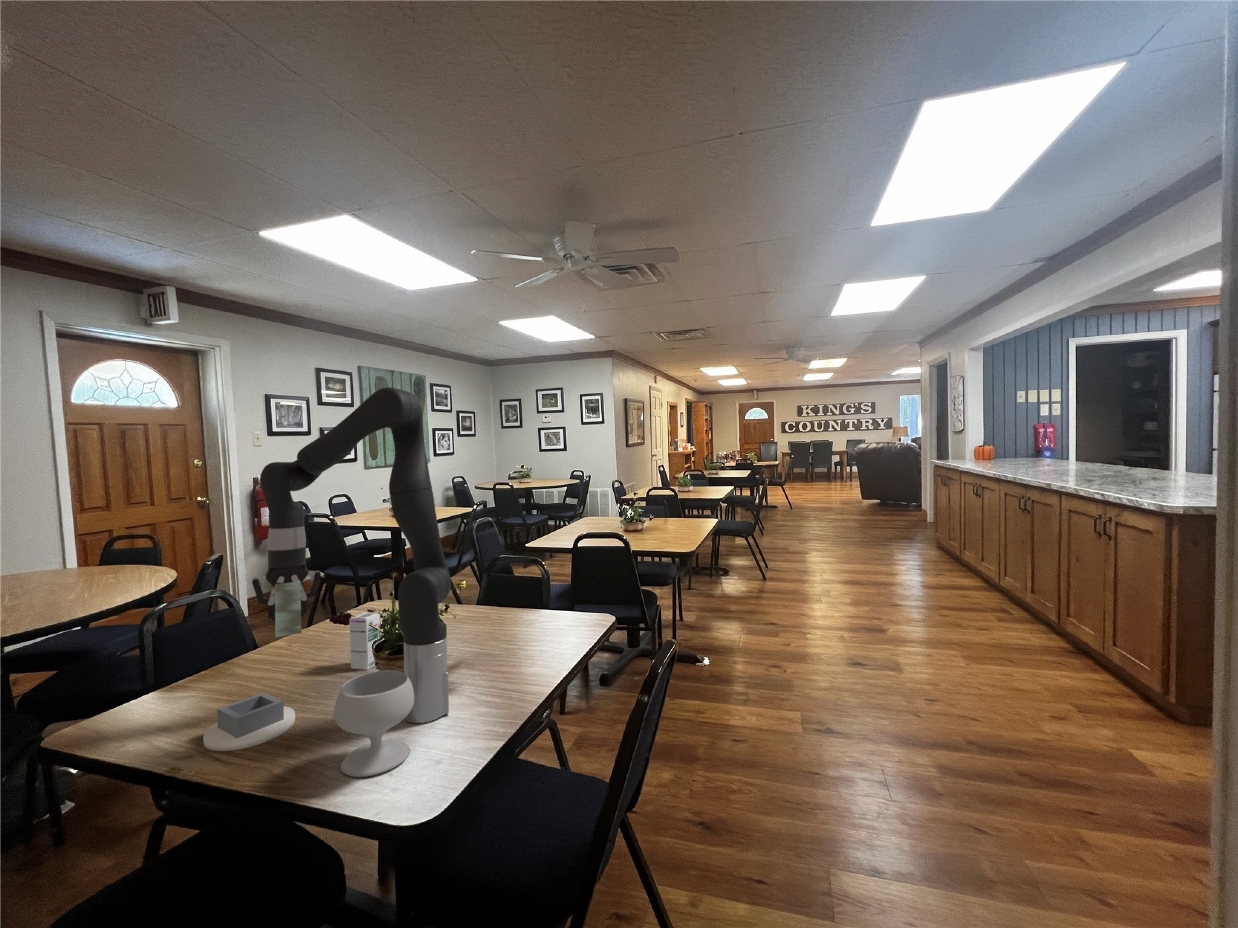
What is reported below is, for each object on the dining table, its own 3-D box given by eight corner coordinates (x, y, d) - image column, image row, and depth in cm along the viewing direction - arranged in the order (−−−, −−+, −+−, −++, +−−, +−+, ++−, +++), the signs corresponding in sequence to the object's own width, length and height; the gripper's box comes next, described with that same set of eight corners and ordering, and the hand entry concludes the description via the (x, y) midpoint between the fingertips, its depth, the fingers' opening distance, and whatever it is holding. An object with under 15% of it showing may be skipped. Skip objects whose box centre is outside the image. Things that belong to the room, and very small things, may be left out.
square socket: (273, 706, 120) (272, 683, 120) (309, 722, 112) (309, 698, 112) (189, 737, 106) (189, 711, 106) (224, 759, 98) (224, 731, 98)
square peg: (300, 627, 122) (299, 578, 123) (301, 632, 118) (300, 581, 118) (275, 631, 120) (274, 581, 120) (275, 637, 116) (274, 585, 116)
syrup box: (368, 670, 141) (367, 618, 141) (349, 668, 142) (349, 617, 142) (381, 662, 146) (381, 612, 146) (363, 660, 147) (363, 611, 147)
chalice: (381, 734, 107) (381, 663, 107) (430, 749, 101) (429, 674, 101) (317, 770, 94) (317, 690, 94) (369, 790, 88) (368, 704, 88)
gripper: (249, 551, 112) (250, 628, 112) (323, 545, 120) (324, 616, 120) (249, 547, 118) (250, 619, 118) (320, 541, 126) (321, 609, 126)
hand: (287, 617), depth 119 cm, fingers closed on square peg, 5 cm apart
